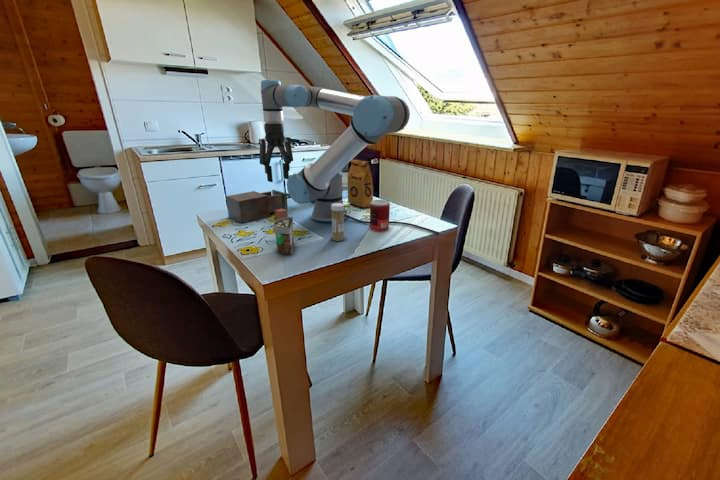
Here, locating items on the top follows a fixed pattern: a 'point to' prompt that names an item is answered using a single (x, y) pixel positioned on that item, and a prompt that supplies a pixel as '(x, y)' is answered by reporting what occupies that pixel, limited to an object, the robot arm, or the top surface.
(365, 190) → the coffee package
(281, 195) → the drawer
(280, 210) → the block
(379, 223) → the canned food
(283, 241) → the food container
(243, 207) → the cabinet
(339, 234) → the sprinkles bottle
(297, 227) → the top surface
